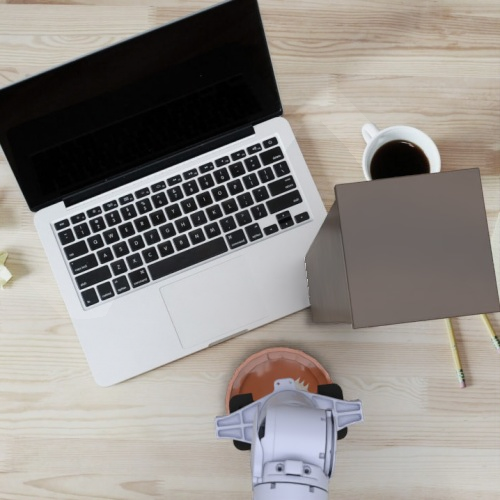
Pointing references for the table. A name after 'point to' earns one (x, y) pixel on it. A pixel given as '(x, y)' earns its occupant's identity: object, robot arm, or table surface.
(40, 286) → the table surface
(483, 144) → the table surface
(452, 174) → the taupe notched tower
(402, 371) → the table surface
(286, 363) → the bowl
